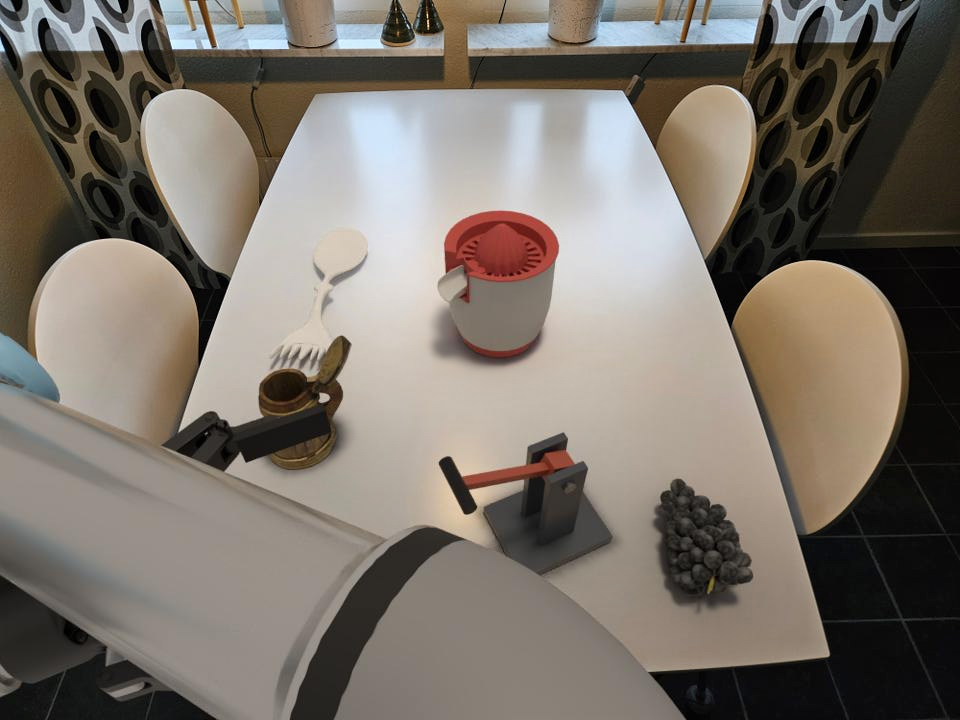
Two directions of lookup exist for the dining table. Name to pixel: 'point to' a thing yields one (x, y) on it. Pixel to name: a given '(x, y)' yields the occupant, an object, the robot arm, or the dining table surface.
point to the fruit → (701, 542)
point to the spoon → (324, 291)
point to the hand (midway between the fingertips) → (356, 489)
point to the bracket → (548, 515)
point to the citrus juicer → (499, 280)
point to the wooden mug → (305, 403)
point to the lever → (499, 476)
